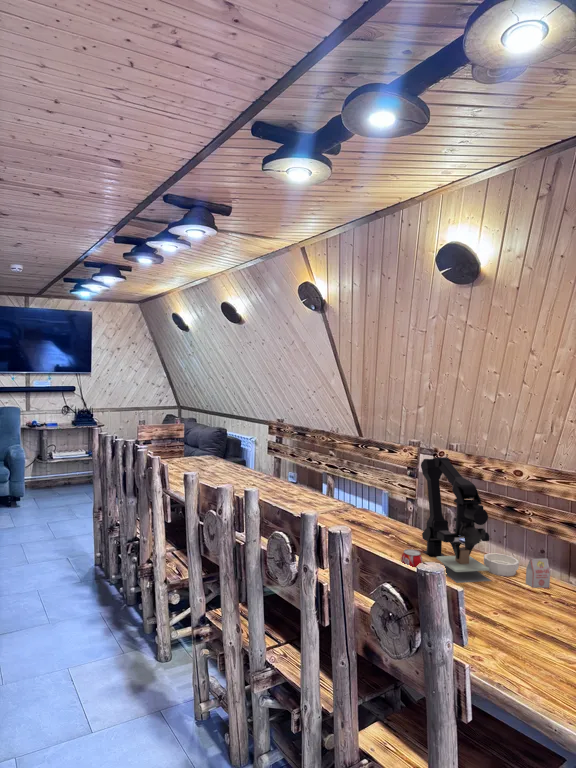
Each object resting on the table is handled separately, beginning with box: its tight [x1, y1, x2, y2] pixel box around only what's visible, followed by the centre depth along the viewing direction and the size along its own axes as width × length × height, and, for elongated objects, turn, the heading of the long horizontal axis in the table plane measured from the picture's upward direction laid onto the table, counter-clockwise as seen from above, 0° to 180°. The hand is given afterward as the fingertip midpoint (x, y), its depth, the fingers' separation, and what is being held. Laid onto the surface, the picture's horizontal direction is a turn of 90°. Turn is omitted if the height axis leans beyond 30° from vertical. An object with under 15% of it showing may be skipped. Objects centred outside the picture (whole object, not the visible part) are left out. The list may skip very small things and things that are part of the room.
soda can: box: [400, 548, 423, 567], centre depth 177 cm, size 7×7×12 cm
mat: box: [441, 563, 492, 584], centre depth 191 cm, size 17×14×1 cm
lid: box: [436, 546, 489, 572], centre depth 190 cm, size 14×14×6 cm
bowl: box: [483, 552, 520, 577], centre depth 194 cm, size 12×12×5 cm
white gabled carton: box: [525, 558, 551, 590], centre depth 182 cm, size 4×7×10 cm, turn 99°
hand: (462, 558), depth 191 cm, fingers closed on lid, 3 cm apart
